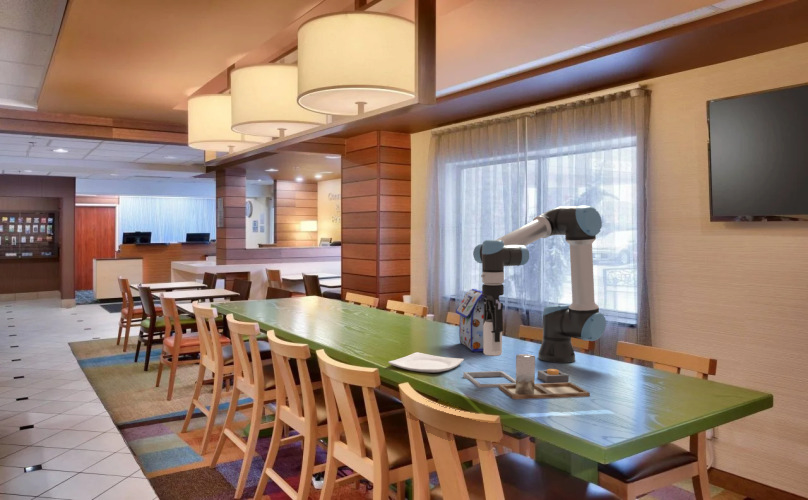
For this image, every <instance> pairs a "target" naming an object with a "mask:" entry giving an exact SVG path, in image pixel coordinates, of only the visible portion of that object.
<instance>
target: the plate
mask: <svg viewBox="0 0 808 500" xmlns="http://www.w3.org/2000/svg"><path fill="white" fill-rule="evenodd" d="M464 360H465V359H464V358H458V357H447V356H439V355H432V354H428V353H422V352H418V351H417V352H416V351H415V352H413V353H411V354H409V355H406V356H403V357H400V358H397V359H394V360H388V364H390V365H391V366H393V367H397V368H399V369H404V370H408V371H411V372H418V373H419V372H420V373H430V374H431V373H433V374H434V373H441V372H445V371H450V370H452V369H454V368H456V367H458V366H459V365H460V364H461V363H462V362H463V361H464Z"/></svg>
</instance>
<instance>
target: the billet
mask: <svg viewBox="0 0 808 500" xmlns="http://www.w3.org/2000/svg"><path fill="white" fill-rule="evenodd" d="M535 372H536V356H535V355H533V354H528V353H527V354H526V353H520V354H516V356H515V380H516V393H517V394H520V395H526V394H534V384H535V383H536V382H535V378H536V376H535V374H536V373H535Z"/></svg>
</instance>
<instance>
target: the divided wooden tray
mask: <svg viewBox="0 0 808 500" xmlns="http://www.w3.org/2000/svg"><path fill="white" fill-rule="evenodd" d="M498 389H500V390H501V391H502V392H503V393H505V394H506V395H508V397H510V398H511V399H513V400H527V399H528V400H529V399H550V398H553V399H554V398H572V397H573V398H575V397H590V396H591V392H590V391H587V390H586V389H584V388H583V387H580V386H579V385H577V384H574V383H572V382H569V381H568V382H565V383H546V382H541V383H534V394H526V395H520V394H517V393H516V384H513V385H499V387H498Z"/></svg>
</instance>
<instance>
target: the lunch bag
mask: <svg viewBox="0 0 808 500" xmlns="http://www.w3.org/2000/svg"><path fill="white" fill-rule="evenodd" d="M486 298H487V296H486V295H483V294H482V290H478V289H477V288H471V289H469V290H468V291H467V292H466V293H465V294H464V296H463V298H462V300H461V302H460V303H459V304H458V306H457V308H456V309H455V313H456V314H457V315H459V333H458V334H459V343H460V344H461V345H464V346H465V347H466V348H468V349H469V350H471V352H475V353H476V352H484V348H483V332H484V325H483V318H484V302H483V299H486Z"/></svg>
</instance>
